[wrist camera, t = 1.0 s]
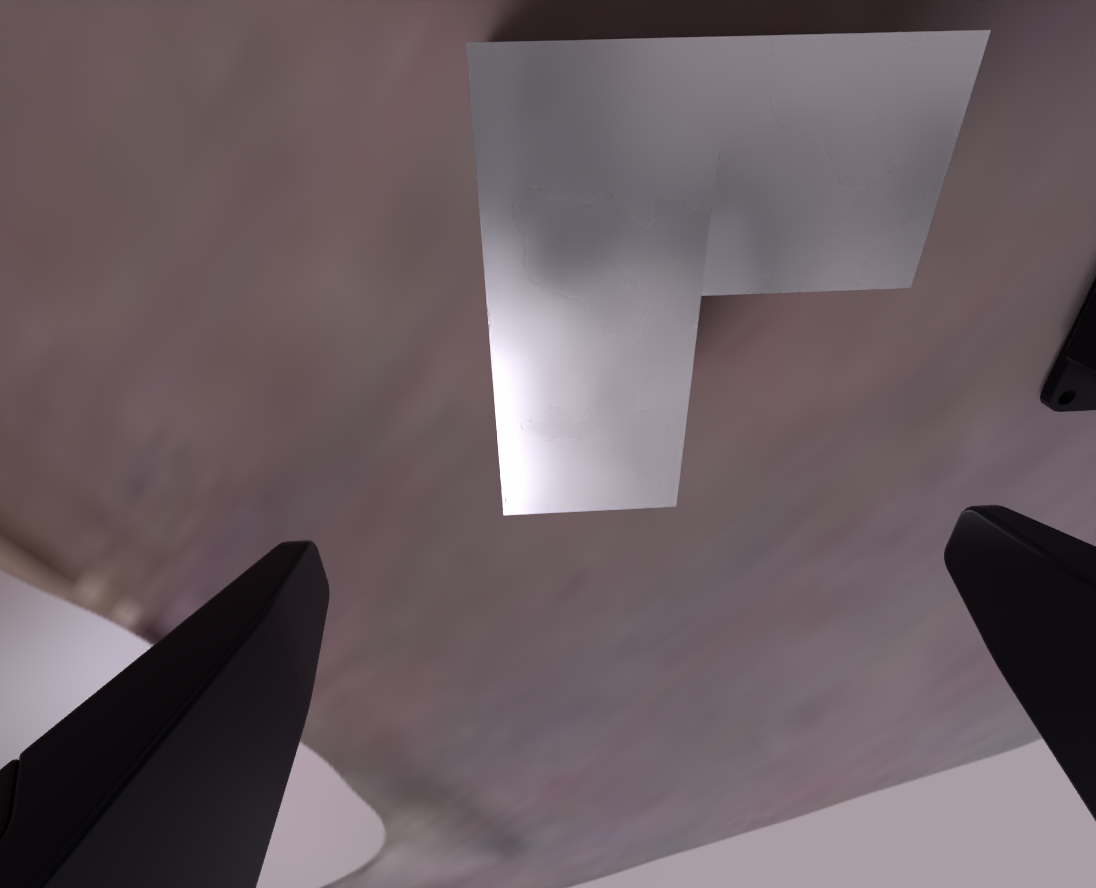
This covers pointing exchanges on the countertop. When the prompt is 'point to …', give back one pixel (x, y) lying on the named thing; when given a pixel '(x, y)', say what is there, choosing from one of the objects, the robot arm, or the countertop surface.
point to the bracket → (683, 221)
